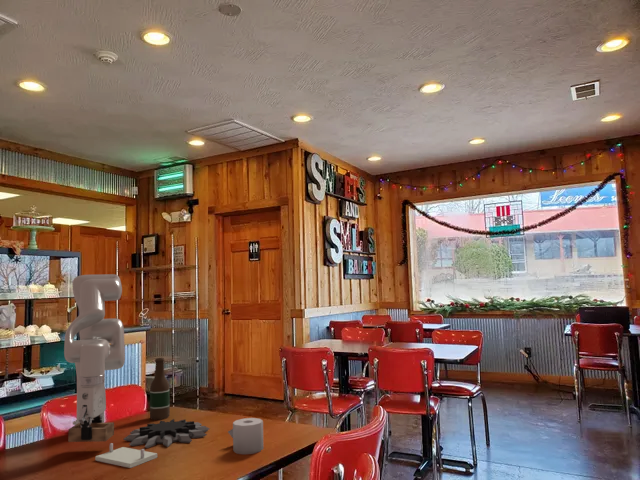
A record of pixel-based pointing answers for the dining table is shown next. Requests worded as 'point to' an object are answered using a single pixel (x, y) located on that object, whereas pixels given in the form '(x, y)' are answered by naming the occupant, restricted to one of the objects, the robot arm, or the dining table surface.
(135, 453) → the panel
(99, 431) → the frame
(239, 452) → the toilet tissue
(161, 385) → the beer bottle
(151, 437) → the decorative piece
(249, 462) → the dining table surface
